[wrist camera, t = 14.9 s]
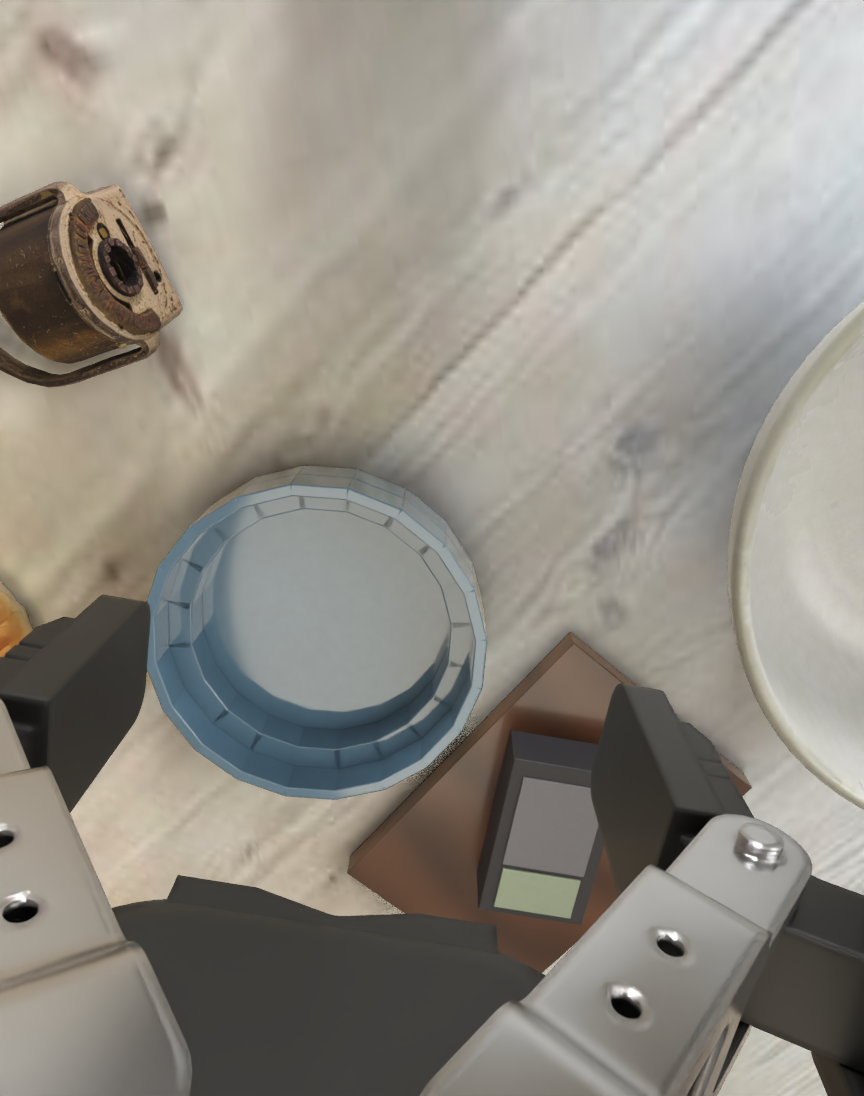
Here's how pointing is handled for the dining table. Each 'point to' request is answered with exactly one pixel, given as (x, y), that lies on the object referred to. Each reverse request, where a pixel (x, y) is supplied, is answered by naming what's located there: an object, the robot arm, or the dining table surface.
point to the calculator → (541, 831)
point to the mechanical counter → (80, 281)
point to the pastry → (11, 621)
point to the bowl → (318, 633)
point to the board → (466, 802)
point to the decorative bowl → (808, 562)
